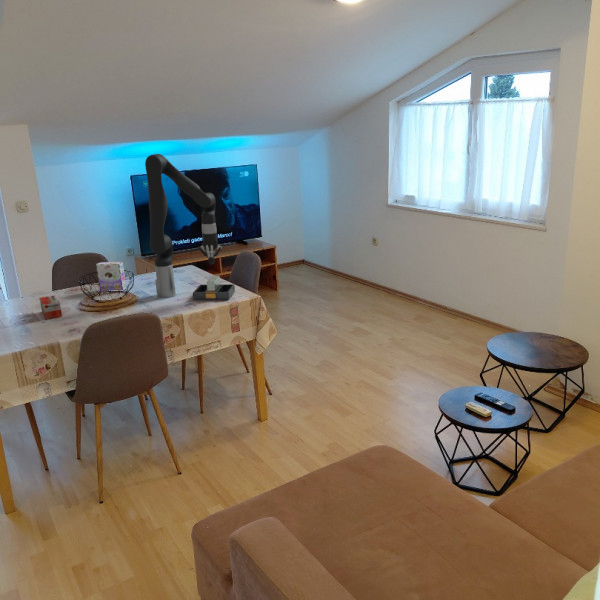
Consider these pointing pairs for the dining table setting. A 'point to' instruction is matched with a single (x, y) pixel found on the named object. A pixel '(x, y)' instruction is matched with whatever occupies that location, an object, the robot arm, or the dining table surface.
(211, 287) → the grey-green rectangular block
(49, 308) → the medicine box
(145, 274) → the dining table surface
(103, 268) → the candy box
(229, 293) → the rack
